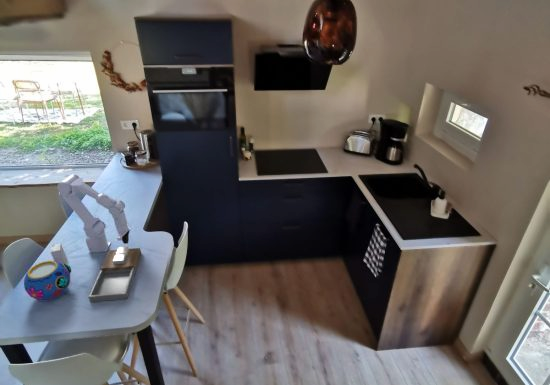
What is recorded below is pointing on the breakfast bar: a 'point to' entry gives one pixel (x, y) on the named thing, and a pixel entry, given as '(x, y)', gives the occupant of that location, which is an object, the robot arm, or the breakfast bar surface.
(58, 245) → the skincare box
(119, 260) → the blue grey tile
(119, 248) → the cream tile
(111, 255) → the tan wooden board
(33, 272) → the ceramic pot
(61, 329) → the breakfast bar surface
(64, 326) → the breakfast bar surface
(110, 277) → the bin
